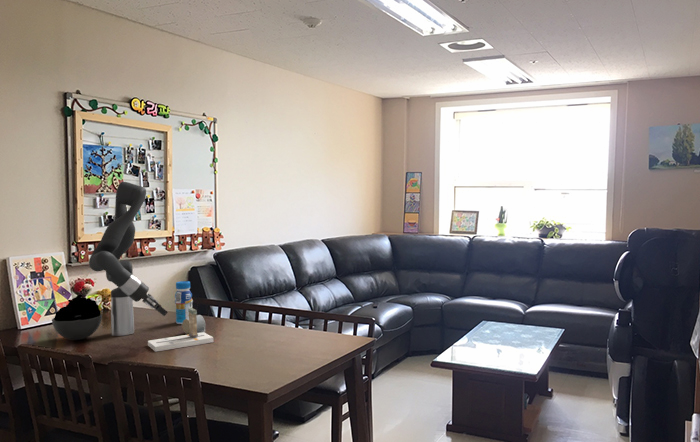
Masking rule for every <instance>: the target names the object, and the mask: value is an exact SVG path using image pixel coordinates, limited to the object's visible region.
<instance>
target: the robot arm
mask: <svg viewBox="0 0 700 442" xmlns="http://www.w3.org/2000/svg"><path fill="white" fill-rule="evenodd" d="M146 196H147V189H146V187H144V186H141V185H138V184H134V183H131V182H127V181H121V182H120V183H119V184H118V186H117V188H116V192H115V201H114V202H115V203H114V204H115V205H114V207H115V208H114V219H113V221H111V222H110V223H109V224H108V226H107V227H106V229H105V230H104V232H103V235H102V237H101V239H100V242H98V244H97V246H96V247H95V249H94V250H93V252H92V253H91V255H90V258H89V261H88V264H89V265H88V266H89V268H90V269H91V270H92V271H94V272H102V271H105V277H106V280H107V281H108V282H109V283H112V284H114V285H115V286H116V288H113V289H112V290H111V291H110V305H111V307H110V309H111V314H110V327H111V328H110V331H111V336H118V337H119V336H128V335H132V334H134V333H135V319H134V302H136V303H137V302H139V301H141V300H142V303H144V304H145V305H147V306H149V308H151V309H154V310H155V311H157V312H158V313H159V314H161V315H162V316H164V317H165V316H166V315H167V314H168V310H167V309H165V308H163V306H162V305H161V304H160V303H159V301H158V300H156V298H154V296H153V295H152V294H150V293H148V292H149V289H150V287H149V286H148V285H147V284H146V283H144V282H143V281H142V280H140V278H138V277H137V276H135V275H134V274H133V273H134V271H133V265H132V261H130V260H127V259H126V260H120V259H121V258H122V256H123V255H124V254H125V253H126V252H127V251H128V250H129V249H130V248H131V247H132V245H133V243H134V241H135V237H136V235H135V234H136V227H135V223H134V222H133V221H134V219H135V218H136V216H137V215H138V212H139V211H140V209H141V208H142V206H143V204H144V203H145V199H146ZM127 206H129V208H128V210H127ZM147 293H148V294H147Z"/></svg>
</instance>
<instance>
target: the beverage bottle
mask: <svg viewBox="0 0 700 442" xmlns="http://www.w3.org/2000/svg"><path fill="white" fill-rule="evenodd" d="M175 289H176V290H177V291H176V292H175V294H174V299H175V300H174V304H175V306H174V307H175V323H176V324H178V325H182V323H183V321H184V320H185V319H187V318H189V312H188V308H193V302H194V300H193V298H192V297H193V293H192V291H191V290H190V289H191V281H189V280H186V281H185V280H181V281H176V283H175Z"/></svg>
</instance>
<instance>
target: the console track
mask: <svg viewBox="0 0 700 442" xmlns="http://www.w3.org/2000/svg"><path fill="white" fill-rule="evenodd" d="M197 334H198V337H192V338H191V337H190V336H189V334H185V335H177V336H170V337H163V338H158V339H157V338H156V339H151V340H147V346H148V347H149V348H150V349H151V350H153V351H154V352H162V351H167V350H169V351H170V350H174V349H179V348H187V347H193V346H199V345H205V344H209V343H214V336H212V335H209V334H208V333H206V331H205V332H202V333H200V332H199V333H197Z"/></svg>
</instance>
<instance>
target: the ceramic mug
mask: <svg viewBox="0 0 700 442" xmlns="http://www.w3.org/2000/svg"><path fill="white" fill-rule="evenodd" d="M196 317H197V333H202V332H205V333H206V321H205V318H204V317H203V315H201V314H196ZM181 325H182V326H181V327H182V330H183V332H184V334H185V335H188V334H189V333H190V330H189V318H187V319H185V320H184V321H183V323H182V324H181Z"/></svg>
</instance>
